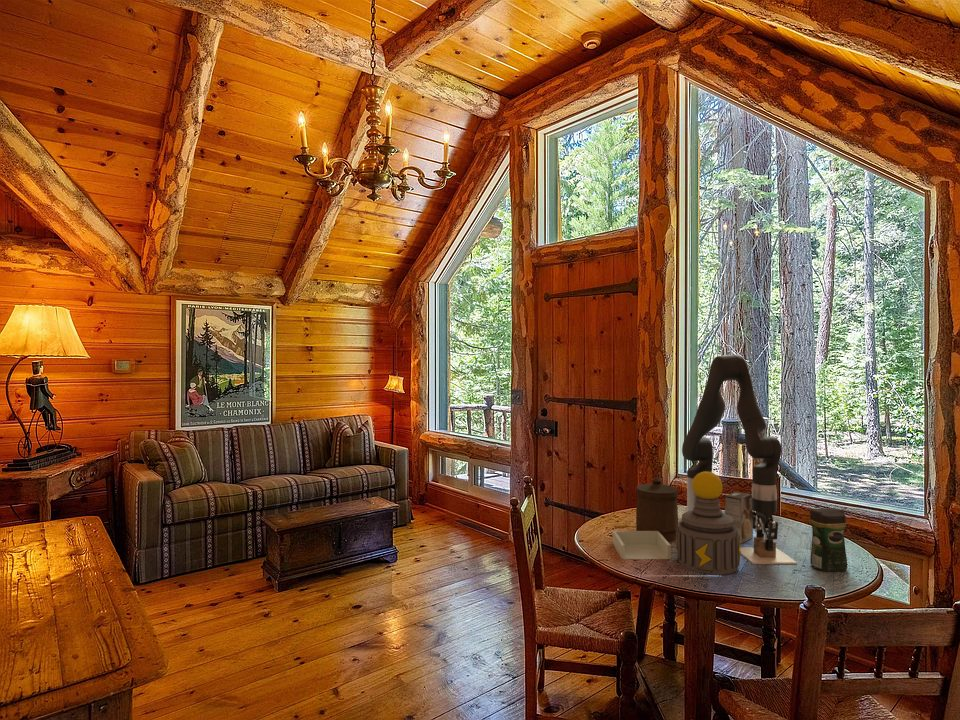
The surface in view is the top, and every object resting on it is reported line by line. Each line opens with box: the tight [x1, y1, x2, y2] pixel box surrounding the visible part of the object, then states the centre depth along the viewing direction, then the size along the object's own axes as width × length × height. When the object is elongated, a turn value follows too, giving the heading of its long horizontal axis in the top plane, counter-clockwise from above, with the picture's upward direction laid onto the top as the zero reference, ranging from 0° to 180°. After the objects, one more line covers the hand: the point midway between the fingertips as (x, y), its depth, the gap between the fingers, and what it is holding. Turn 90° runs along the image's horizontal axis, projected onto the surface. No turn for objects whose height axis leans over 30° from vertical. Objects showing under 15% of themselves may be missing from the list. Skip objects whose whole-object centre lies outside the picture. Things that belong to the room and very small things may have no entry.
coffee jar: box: [809, 507, 848, 572], centre depth 177 cm, size 10×8×19 cm
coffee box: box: [724, 491, 754, 544], centre depth 206 cm, size 9×6×16 cm
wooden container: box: [635, 476, 679, 543], centre depth 209 cm, size 15×15×22 cm
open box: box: [612, 530, 672, 560], centre depth 193 cm, size 15×16×5 cm
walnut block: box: [753, 536, 777, 557], centre depth 188 cm, size 5×5×5 cm
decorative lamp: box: [675, 471, 741, 576], centre depth 180 cm, size 19×19×30 cm
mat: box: [740, 547, 798, 565], centre depth 188 cm, size 14×14×1 cm
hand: (764, 547), depth 188 cm, fingers open, 6 cm apart
